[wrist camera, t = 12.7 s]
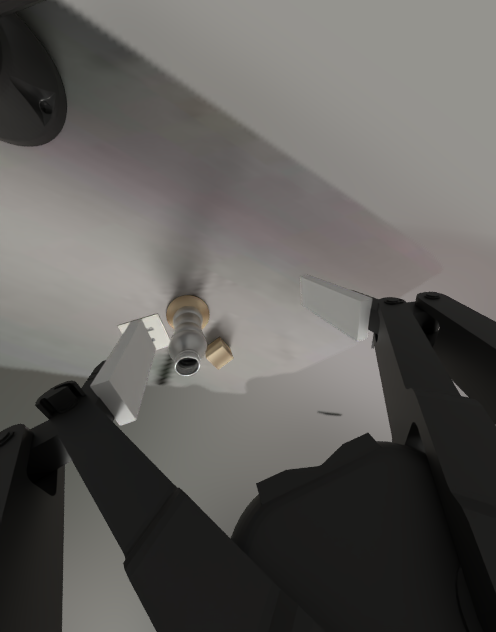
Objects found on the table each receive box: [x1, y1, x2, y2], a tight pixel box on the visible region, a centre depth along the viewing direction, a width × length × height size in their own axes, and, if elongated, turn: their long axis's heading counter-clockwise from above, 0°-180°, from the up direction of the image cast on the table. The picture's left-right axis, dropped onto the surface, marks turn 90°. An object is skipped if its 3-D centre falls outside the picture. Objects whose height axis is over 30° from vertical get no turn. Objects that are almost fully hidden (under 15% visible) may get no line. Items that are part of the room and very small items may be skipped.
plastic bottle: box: [168, 306, 207, 376], centre depth 38 cm, size 6×7×20 cm
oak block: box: [206, 337, 234, 370], centre depth 51 cm, size 5×5×5 cm
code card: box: [118, 314, 170, 350], centre depth 46 cm, size 9×9×1 cm
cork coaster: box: [166, 295, 209, 329], centre depth 47 cm, size 10×10×1 cm
